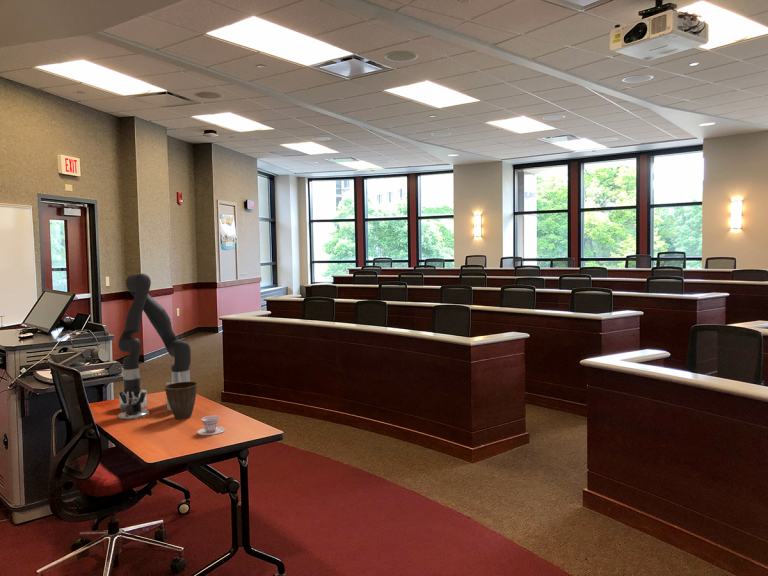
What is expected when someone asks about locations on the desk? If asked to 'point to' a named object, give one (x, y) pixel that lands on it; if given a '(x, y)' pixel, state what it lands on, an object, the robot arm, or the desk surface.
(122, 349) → the robot arm
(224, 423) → the desk surface
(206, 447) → the desk surface
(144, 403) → the cooker pot
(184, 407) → the plant pot
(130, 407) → the cooker lid
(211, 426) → the teacup
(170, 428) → the desk surface
